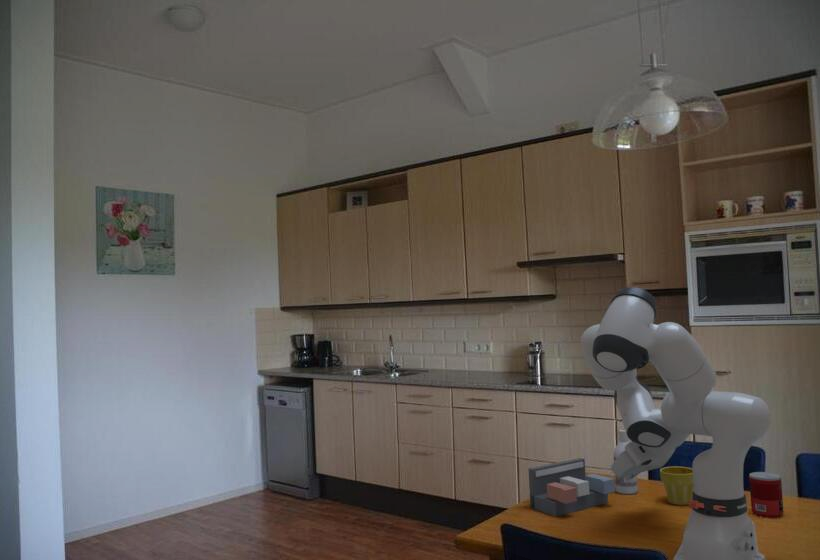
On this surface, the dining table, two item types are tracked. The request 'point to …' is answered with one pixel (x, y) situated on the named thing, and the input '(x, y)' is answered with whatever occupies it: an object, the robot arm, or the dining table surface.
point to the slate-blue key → (600, 483)
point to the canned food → (766, 494)
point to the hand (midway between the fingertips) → (627, 477)
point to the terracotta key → (561, 492)
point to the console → (553, 474)
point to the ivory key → (576, 485)
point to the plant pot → (678, 484)
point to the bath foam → (621, 483)
